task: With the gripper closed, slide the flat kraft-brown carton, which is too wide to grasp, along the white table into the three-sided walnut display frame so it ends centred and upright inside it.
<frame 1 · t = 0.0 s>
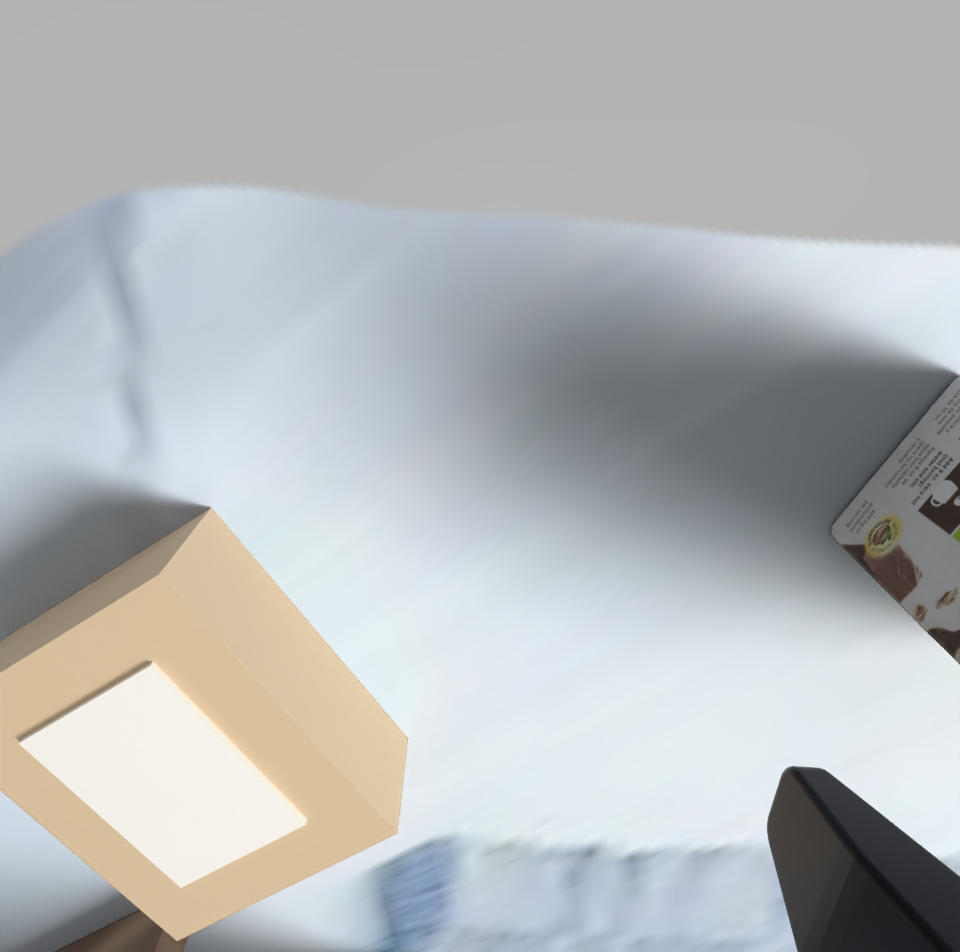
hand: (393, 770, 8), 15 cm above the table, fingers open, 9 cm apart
carton: (217, 683, 26), on the table
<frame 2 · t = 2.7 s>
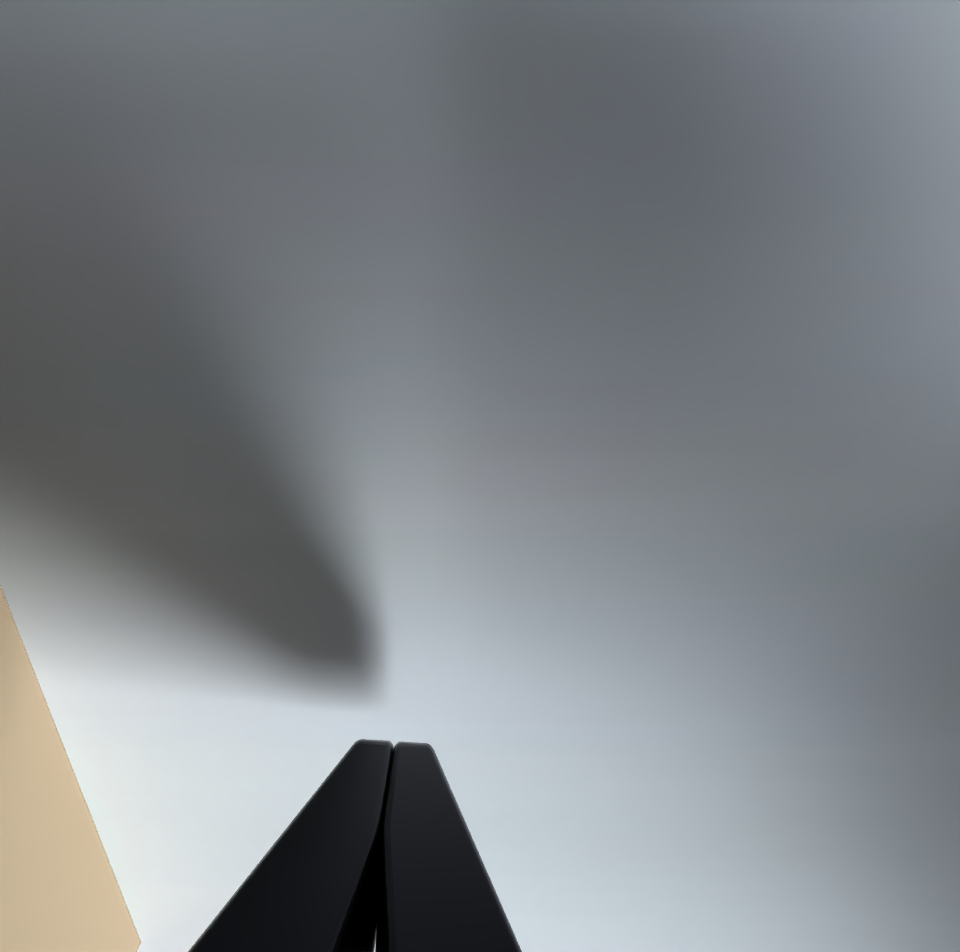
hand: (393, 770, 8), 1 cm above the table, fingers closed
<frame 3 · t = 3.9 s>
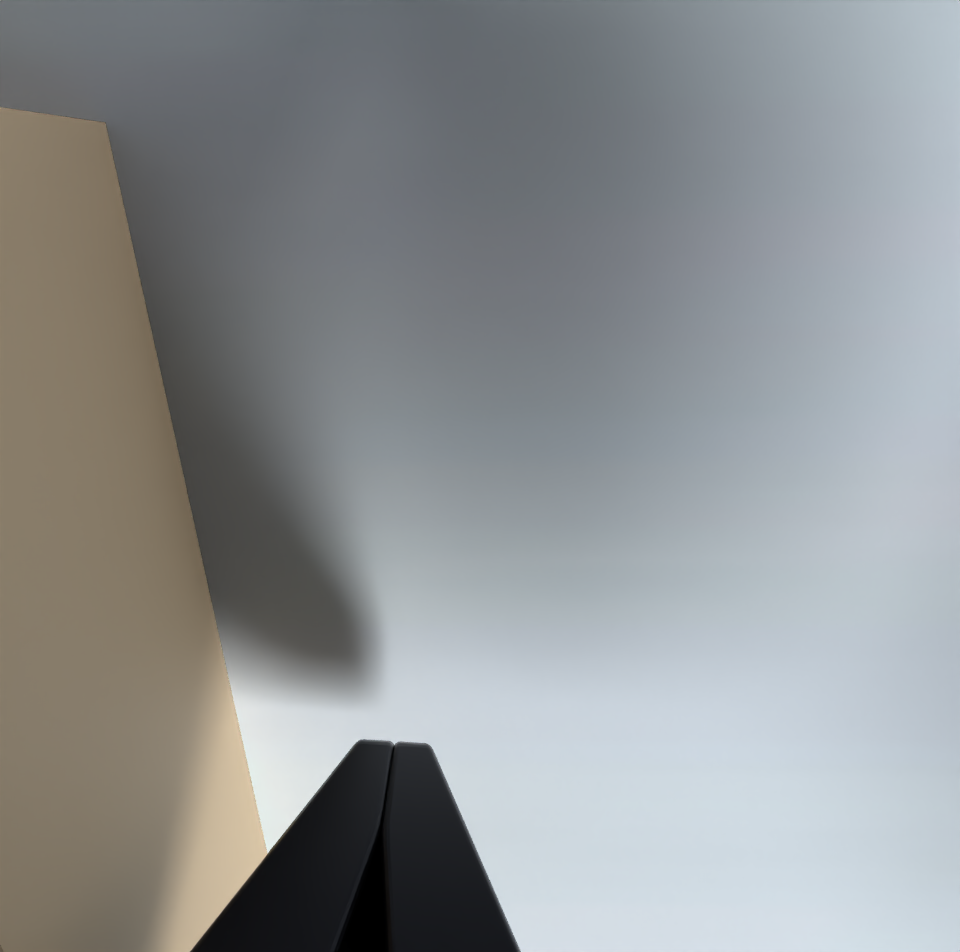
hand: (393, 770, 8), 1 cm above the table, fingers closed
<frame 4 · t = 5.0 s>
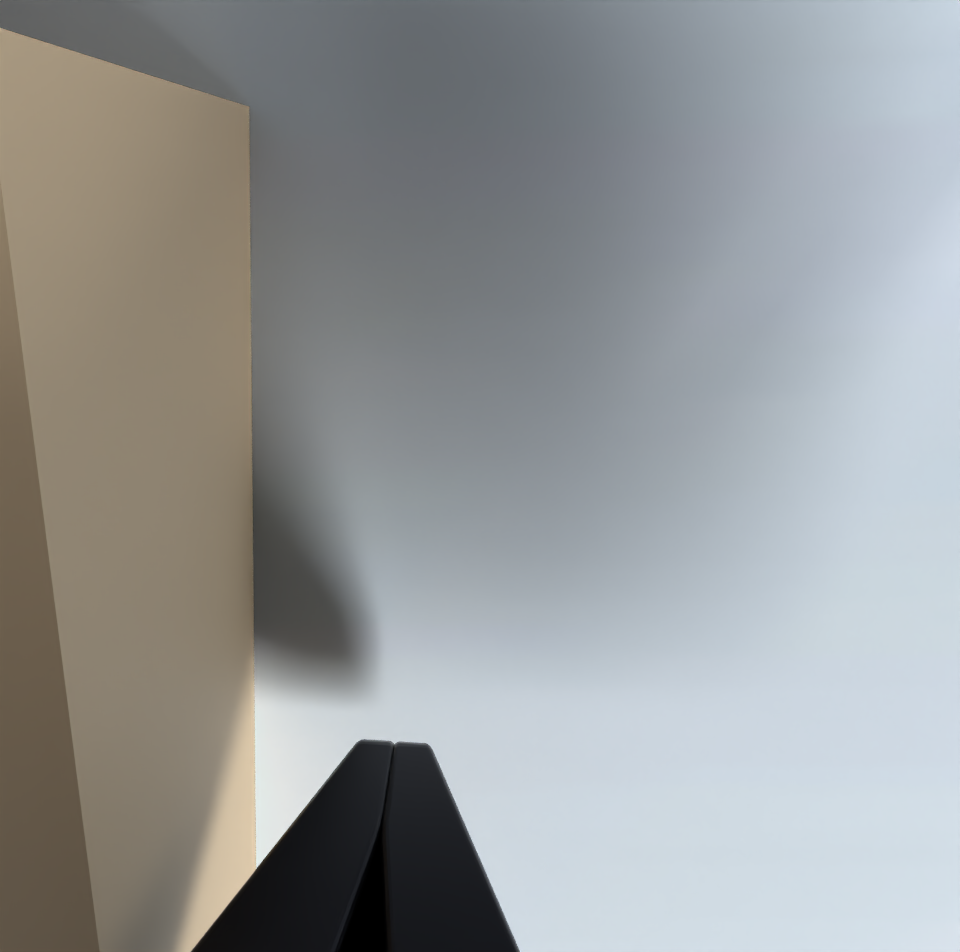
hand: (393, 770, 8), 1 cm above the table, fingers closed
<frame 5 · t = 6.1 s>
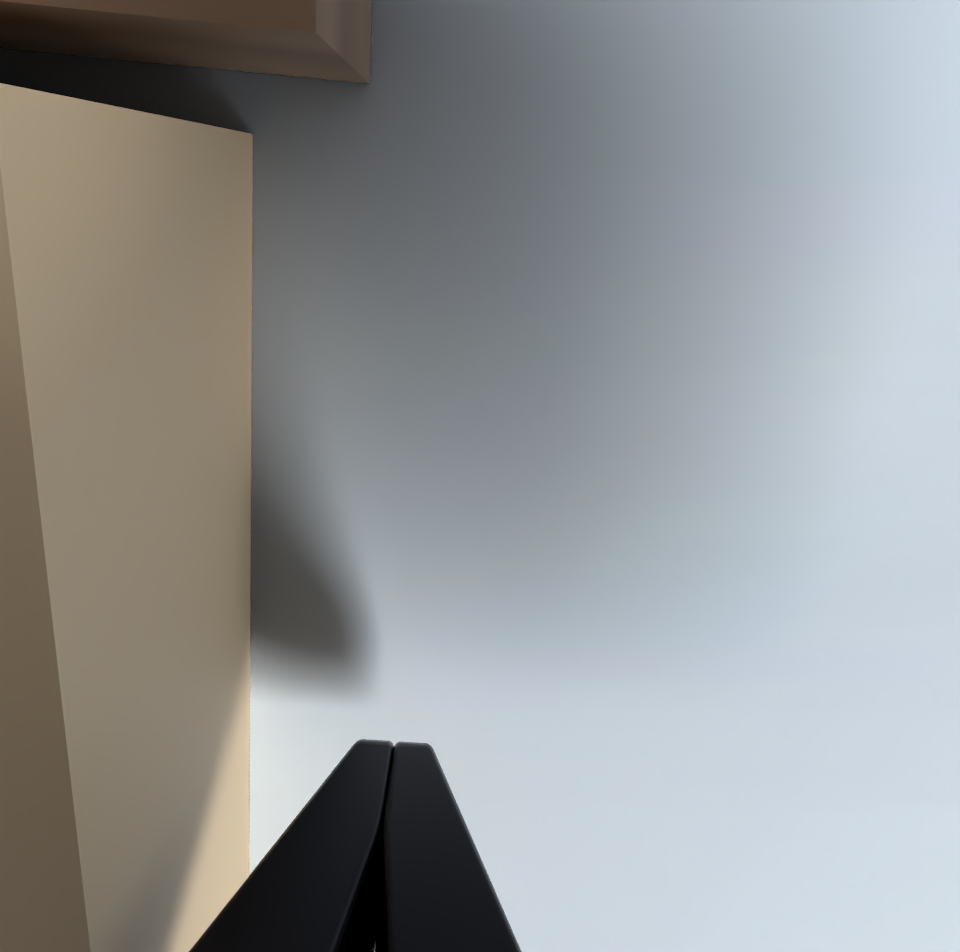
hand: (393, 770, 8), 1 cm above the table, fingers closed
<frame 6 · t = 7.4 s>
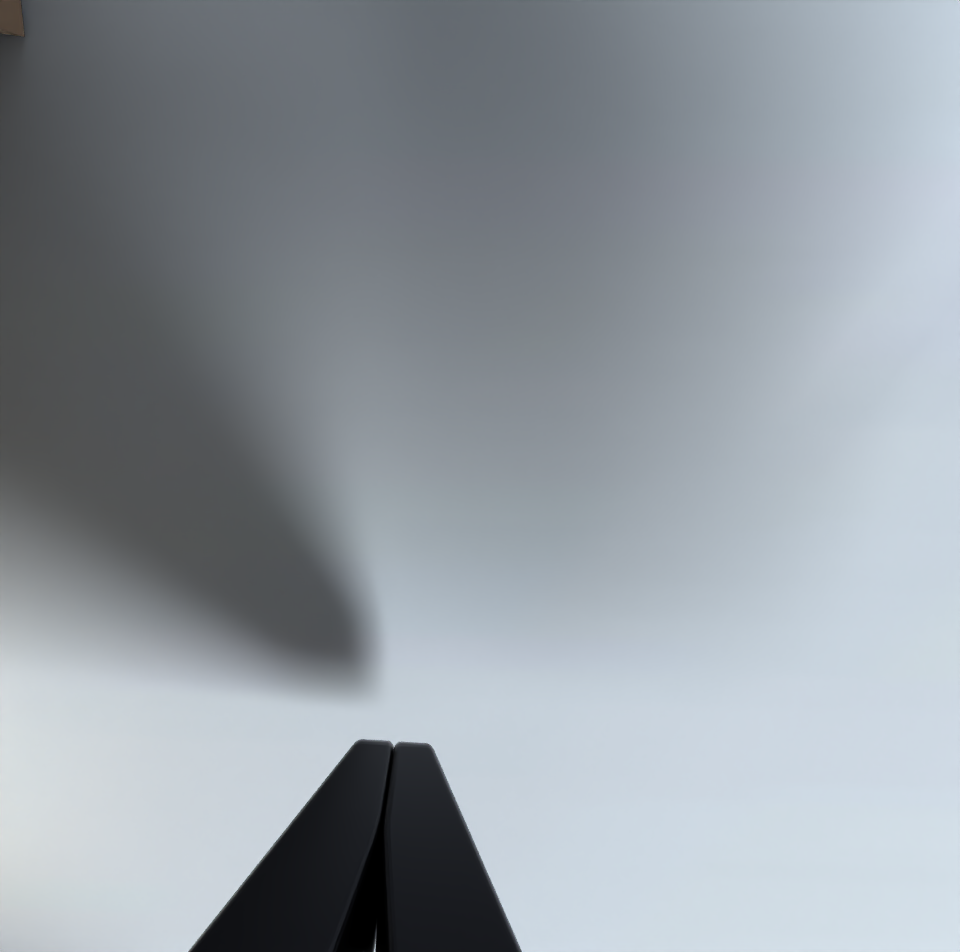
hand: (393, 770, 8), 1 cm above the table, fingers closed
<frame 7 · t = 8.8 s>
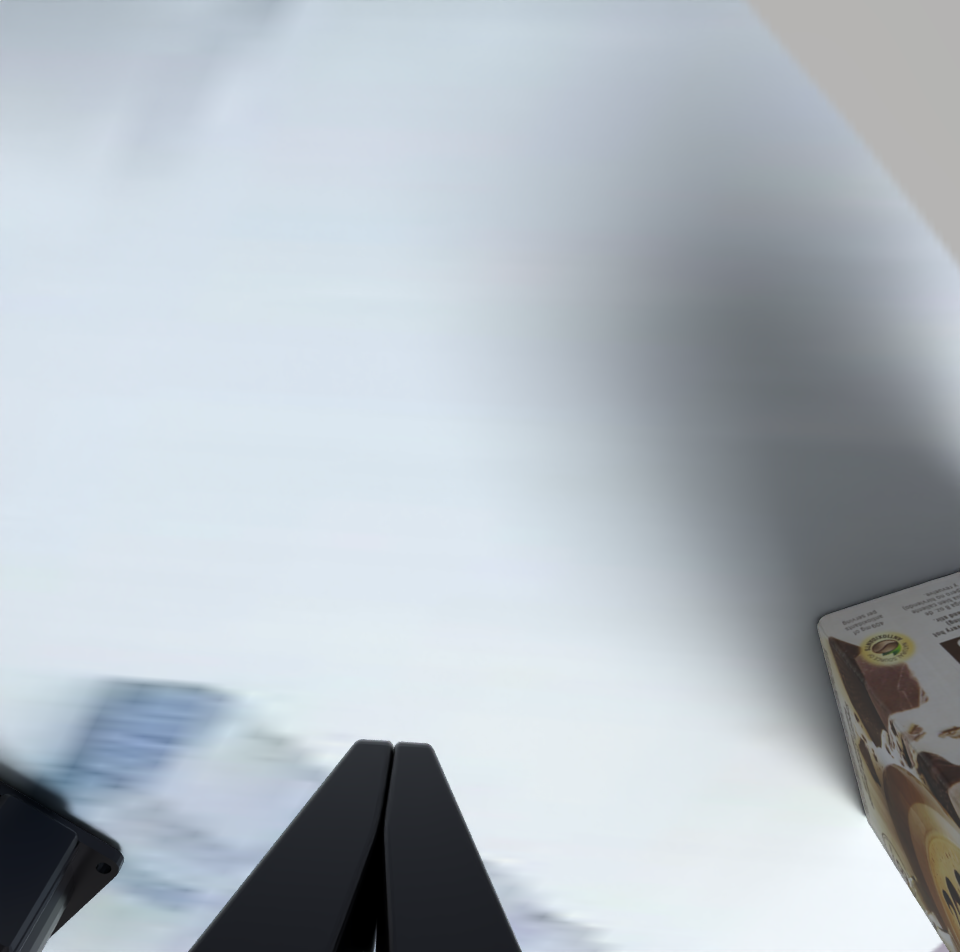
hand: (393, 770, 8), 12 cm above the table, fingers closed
coffee box: (930, 693, 24), on the table
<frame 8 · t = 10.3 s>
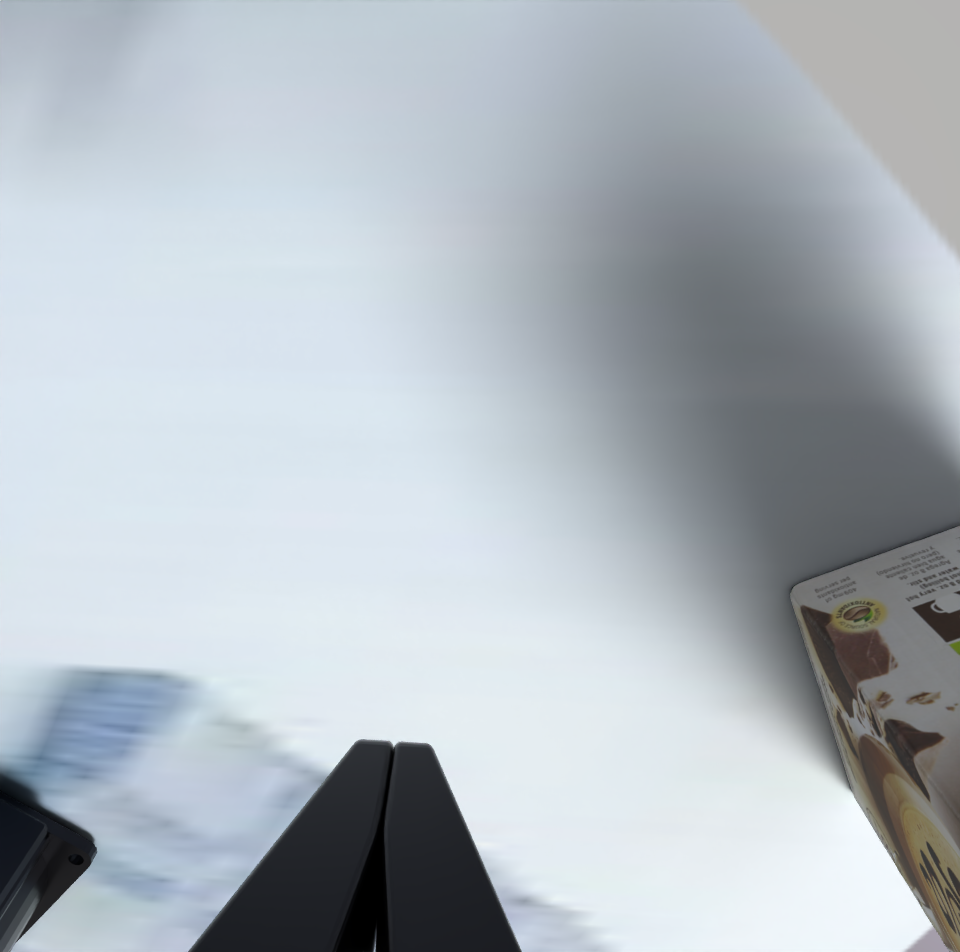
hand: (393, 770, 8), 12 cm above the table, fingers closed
coffee box: (913, 663, 23), on the table
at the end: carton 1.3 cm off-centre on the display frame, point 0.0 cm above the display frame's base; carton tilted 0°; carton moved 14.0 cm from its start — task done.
